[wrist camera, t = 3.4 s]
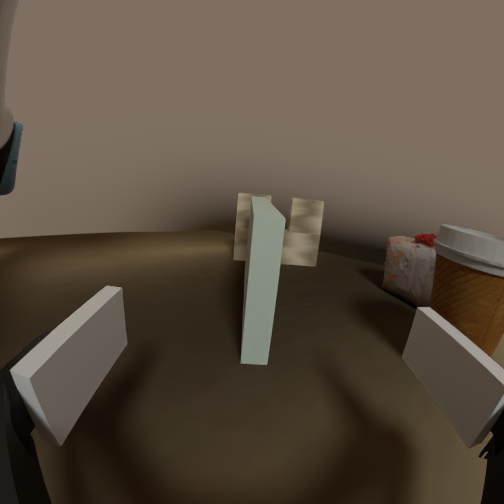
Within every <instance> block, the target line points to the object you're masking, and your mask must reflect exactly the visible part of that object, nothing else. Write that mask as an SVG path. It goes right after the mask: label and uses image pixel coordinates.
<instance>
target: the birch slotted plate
mask: <svg viewBox="0 0 504 504" xmlns="http://www.w3.org/2000/svg"><path fill="white" fill-rule="evenodd" d="M251 196H256V197H265V198H266V199H267V200H268V201H269V202H270V203H271V196H270V195H269V196H268V195H259V194H248V193H239V195H238V207H237V219H236V231H235V244H234V257H233V260H240V261H246V250H247V239H248V228H249V216H250V205H251ZM323 207H324V202H322V201H316V200H307V199H298V198H291V200H290V210H289V219H288V229H284V237H283V246H282V255H281V263H280V264H289V265H302V266H314V267H316V261H317V254H318V247H319V240H320V232H321V224H322V216H323Z"/></svg>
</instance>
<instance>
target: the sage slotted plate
mask: <svg viewBox="0 0 504 504" xmlns="http://www.w3.org/2000/svg"><path fill="white" fill-rule="evenodd" d="M284 228H285V218H284V217H283V216H282V215H281V213H280V212H279V211H278V210H277V209H276V208H275V207H274V206H273V205H272V204H271V203H270V202H269V201H268V200H267V199H266V198H265V197H256V196H251V205H250V216H249V228H248V239H247V250H246V262H245V277H244V303H243V321H242V344H241V363H244V364H260V365H267V362H268V355H269V348H270V341H271V334H272V326H273V319H274V311H275V304H276V296H277V288H278V280H279V272H280V263H281V255H282V246H283V237H284Z"/></svg>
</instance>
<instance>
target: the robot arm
mask: <svg viewBox="0 0 504 504" xmlns="http://www.w3.org/2000/svg"><path fill="white" fill-rule="evenodd" d="M17 4H18V0H0V195H7V194H9V193H11V192H12V191H13V189H14V186H15V178H16V168H17V161H18V154H19V147H20V141H21V135H22V130H23V125H22V124H21V123H18V122H14V121H13V115H12V112H11V111H10V110H9V108H8V107H6V106H5V105H4V102H5V100H4V99H5V81H6V68H7V59H8V51H9V44H10V37H11V32H12V26H13V21H14V17H15V12H16V8H17ZM127 344H128V343H127V335H126V326H125V317H124V305H123V292H122V288H120V287H113V286H106V287H104V288H103V289H102V290H101V291H100V292H98V293H97V294H96V295H95V296H93V297H92V298H91V299H90V300H89V301H87V302H86V303H85V304H84V305H82V306H81V307H80V308H79V309H78V310H76V311H75V312H74V313H73V314H72V315H71V316H69V317H68V318H67V319H66V320H65V321H64V322H62V323H61V324H60V325H59V326H58V327H57V328H55V329H54V330H53V331H52V332H51V333H50V332H47V333H45V334H43V335H41V336H39V337H37V338H36V339H34V340H33V341H32V342H31V343H30V344H29V346H26V347H25V348H24V349H23V350H22V352H20V353H18V354H17V355H16V356H15V357H14V358H13V359H12V360H11V361H10V362H9V363H7V364H6V365H5V366H4V367H3V368H2V369H1V370H0V504H52V503H51V500H50V498H49V495H48V492H47V489H46V485H45V482H44V479H43V476H42V472H41V468H40V465H39V461H38V457H37V453H36V448H35V444H34V440H33V438H32V436H31V434H30V433H31V432H32V430H33V429H34V428H35V427H36V429H37V431H38V433H39V435H40V437H41V438H42V439H43V440H45V441H47V442H49V443H52V444H54V445H56V446H59V447H61V446H62V444H63V443H64V441H65V439H66V438H67V436H68V434H69V433H70V431H71V429H72V428H73V426H74V425H75V423H76V421H77V420H78V418H79V416H80V415H81V413H82V412H83V410H84V409H85V407H86V405H87V404H88V402H89V401H90V399H91V398H92V396H93V394H94V393H95V391H96V390H97V388H98V387H99V385H100V384H101V382H102V381H103V379H104V378H105V376H106V375H107V373H108V372H109V370H110V369H111V367H112V366H113V364H114V363H115V361H116V360H117V358H118V357H119V355H120V354H121V352H122V351H123V349H124V348H125V346H126V345H127ZM402 359H403V360H404V361H405V363H406V364H407V365H408V366H409V368H410V369H411V370H412V372H413V373H414V374H415V375H416V377H417V378H418V379H419V381H420V382H421V383H422V385H423V386H424V387H425V389H426V390H427V391H428V393H429V394H430V395H431V397H432V398H433V399H434V401H435V402H436V403H437V405H438V406H439V407H440V409H441V410H442V412H443V413H444V414H445V416H446V417H447V419H448V420H449V421H450V423H451V424H452V426H453V427H454V428H455V430H456V431H457V433H458V434H459V435H460V437H461V438H462V440H463V441H464V443H465V444H466V446H467V447H468V449H469V448H471V447H473V446H476V445H478V444H480V443H482V442H483V440H484V439H485V437H486V436H487V435H488V433H489V432H490V431H491V432H492V433H493V437H492V438H491V439H490V441H489V442H488V443H487V445H486V446H485V447H484V449H483V450H482V451H481V453H480V455H479V457H480V458H481V457H482V455H483V454H484V453H485V452H487V451H488V453H487V455H486V456H485V457H484V459H487V468H486V476H485V483H484V489H483V494H482V500H481V504H504V369H503V368H501V367H500V366H499V365H498V364H497V363H496V362H495V361H494V360H492V359H491V358H490V357H489V356H488V355H487V354H486V353H484V352H483V351H482V350H481V349H480V348H479V347H478V346H476V345H475V344H474V343H473V342H472V341H470V340H469V339H468V338H467V337H466V336H465V335H463V334H462V333H461V332H460V331H458V330H457V329H456V328H455V327H454V326H452V325H451V324H450V323H449V322H447V321H446V320H445V319H444V318H442V317H441V316H440V315H439V314H437V313H436V312H435V311H434V310H432V309H431V308H430V307H417V310H416V314H415V317H414V321H413V324H412V327H411V331H410V334H409V337H408V340H407V343H406V346H405V349H404V352H403V355H402Z"/></svg>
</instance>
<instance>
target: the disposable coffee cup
mask: <svg viewBox="0 0 504 504" xmlns="http://www.w3.org/2000/svg"><path fill="white" fill-rule="evenodd" d="M433 242H434V244H435V252H436V262H435V270H434V278H433V286H432V293H431V300H430V306H429V307H430V308H431V309H432V310H434V311H435V312H436V313H437V314H439V315H440V316H441V317H442V318H444V319H445V320H446V321H447V322H449V323H450V324H451V325H452V326H454V327H455V328H456V329H457V330H458V331H460V332H461V333H462V334H463V335H465V336H466V337H467V338H468V339H469V340H470V341H472V342H473V343H474V344H475V345H476V346H478V347H479V348H480V349H481V350H482V351H483V352H484V353H486V354H487V355H488V356H489V357H491V355H492V354H493V352H494V350H495V348H496V347H497V345H498V343H499V341H500V339H501V337H502V335H503V333H504V238H501V237H498V236H494V235H491V234H487V233H483V232H479V231H476V230H471V229H467V228H462V227H457V226H452V225H445V224H442V225H441V227H440V230H439V233H438V235H437V238H434V239H433Z"/></svg>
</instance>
